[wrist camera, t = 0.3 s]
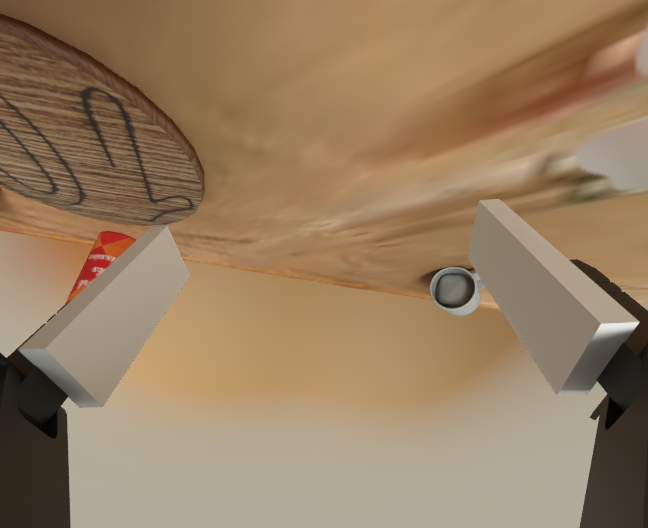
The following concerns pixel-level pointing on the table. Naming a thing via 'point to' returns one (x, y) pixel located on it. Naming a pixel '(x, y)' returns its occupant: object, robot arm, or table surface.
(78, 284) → the paper cup
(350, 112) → the table surface
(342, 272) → the table surface
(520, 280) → the robot arm
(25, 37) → the trivet
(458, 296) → the ceramic mug
